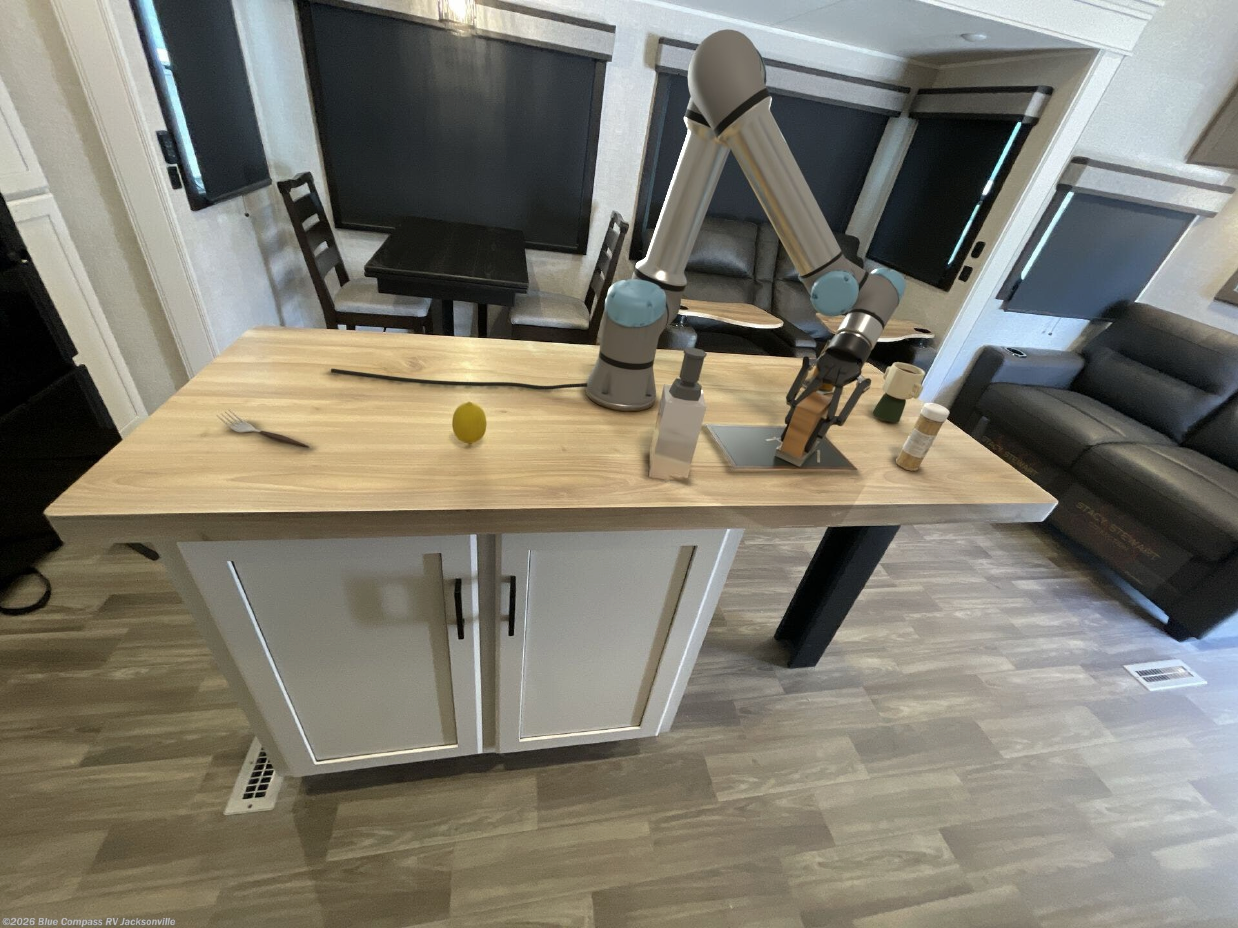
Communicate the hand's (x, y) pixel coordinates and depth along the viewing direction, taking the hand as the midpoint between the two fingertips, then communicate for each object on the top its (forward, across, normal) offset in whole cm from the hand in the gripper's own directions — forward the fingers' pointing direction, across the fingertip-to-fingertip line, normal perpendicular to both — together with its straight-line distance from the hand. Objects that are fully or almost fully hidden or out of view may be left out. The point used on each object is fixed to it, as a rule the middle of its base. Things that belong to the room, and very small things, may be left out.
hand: (794, 444), depth 99 cm
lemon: (+32, +43, +26) cm, 59 cm away
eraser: (0, 0, -5) cm, 5 cm away
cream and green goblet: (-25, -9, -32) cm, 42 cm away
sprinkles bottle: (-11, -18, -18) cm, 28 cm away
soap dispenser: (+17, +16, +10) cm, 25 cm away
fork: (+48, +64, +42) cm, 90 cm away
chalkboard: (+1, +4, -6) cm, 7 cm away
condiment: (-28, +9, -34) cm, 45 cm away
